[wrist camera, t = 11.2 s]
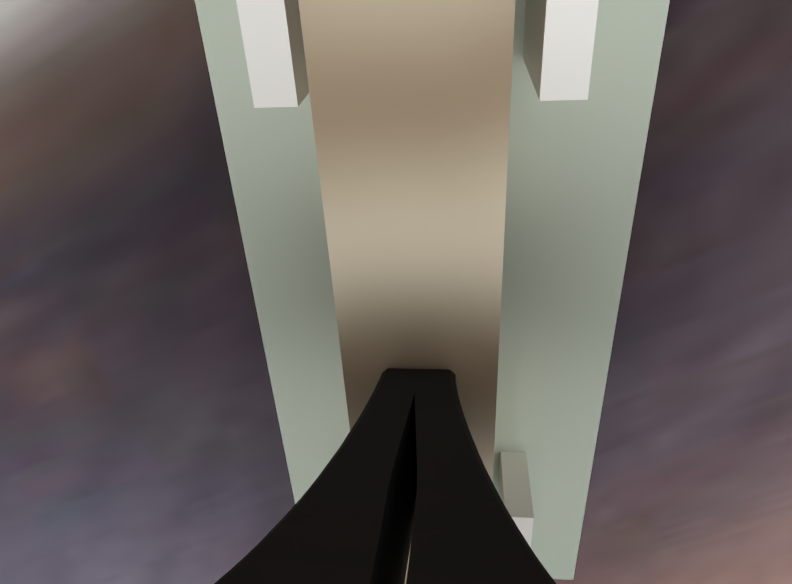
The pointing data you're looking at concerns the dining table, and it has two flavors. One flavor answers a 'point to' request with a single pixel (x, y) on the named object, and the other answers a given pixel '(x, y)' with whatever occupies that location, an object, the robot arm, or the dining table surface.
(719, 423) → the dining table surface
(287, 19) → the end caps
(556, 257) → the cap board
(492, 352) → the slat
